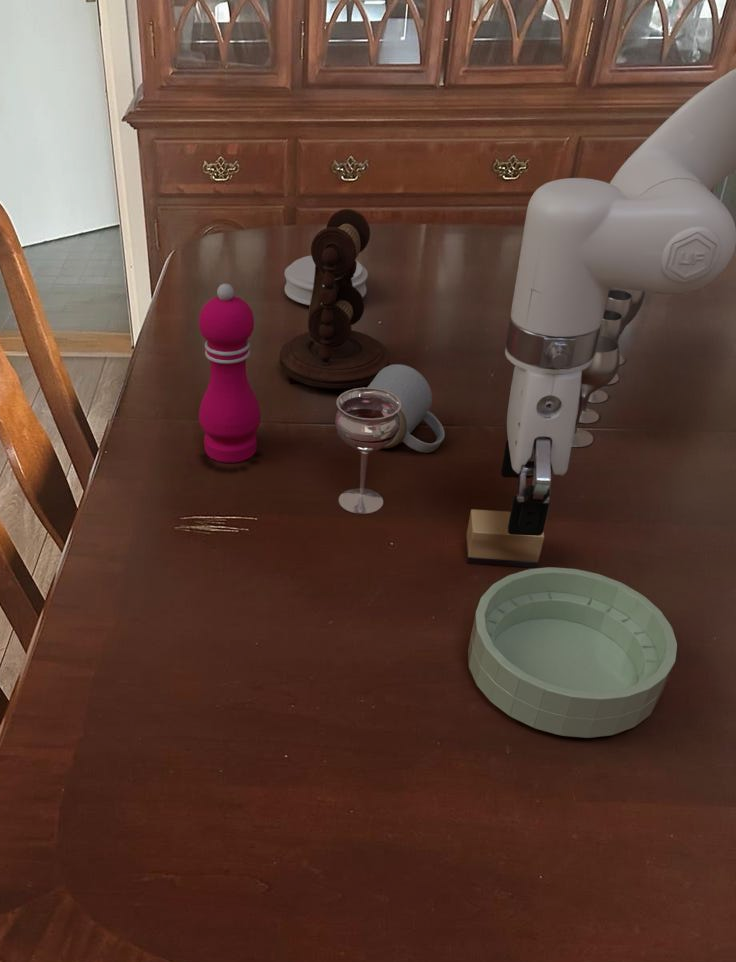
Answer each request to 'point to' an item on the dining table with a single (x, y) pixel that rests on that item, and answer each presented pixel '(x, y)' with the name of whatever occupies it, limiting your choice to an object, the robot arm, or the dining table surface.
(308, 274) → the lid
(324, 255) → the dark brown wooden stand
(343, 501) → the wineglass
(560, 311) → the robot arm
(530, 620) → the bowl
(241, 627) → the dining table surface
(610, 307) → the goblet set
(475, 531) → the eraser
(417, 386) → the ceramic mug
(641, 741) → the dining table surface
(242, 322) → the pepper mill
